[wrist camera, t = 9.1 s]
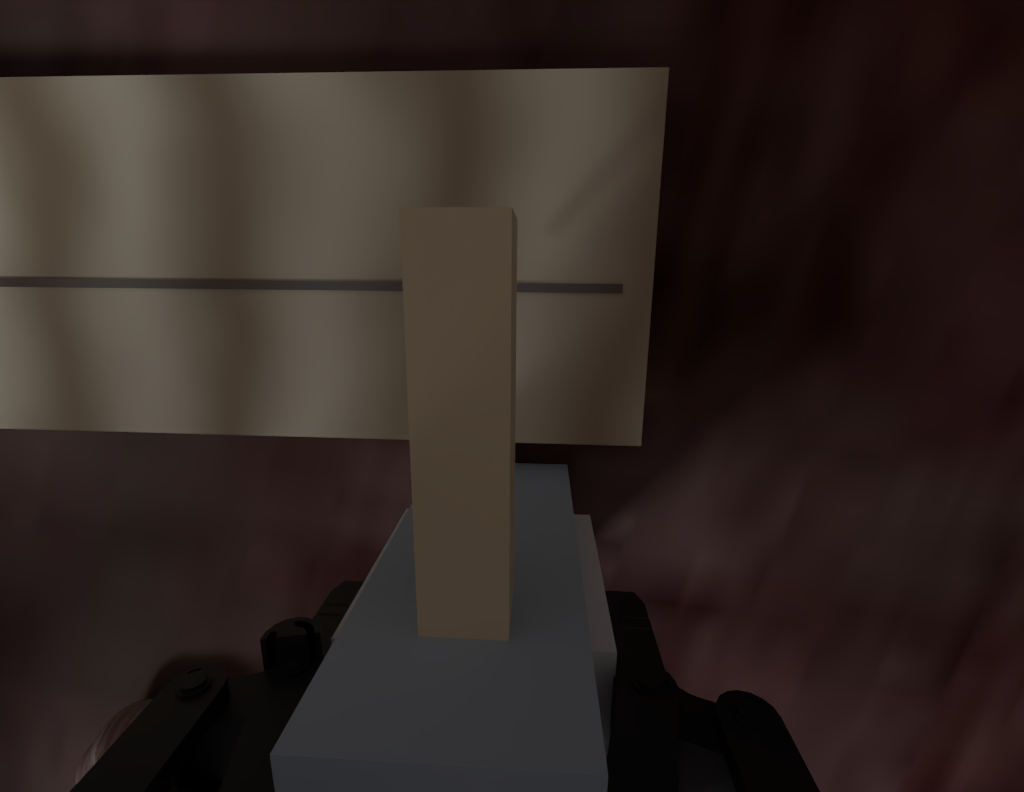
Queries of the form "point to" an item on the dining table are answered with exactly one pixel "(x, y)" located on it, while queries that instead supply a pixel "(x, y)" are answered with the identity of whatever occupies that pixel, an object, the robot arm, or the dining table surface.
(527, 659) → the hammer
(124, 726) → the garlic bulb
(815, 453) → the dining table surface
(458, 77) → the board
